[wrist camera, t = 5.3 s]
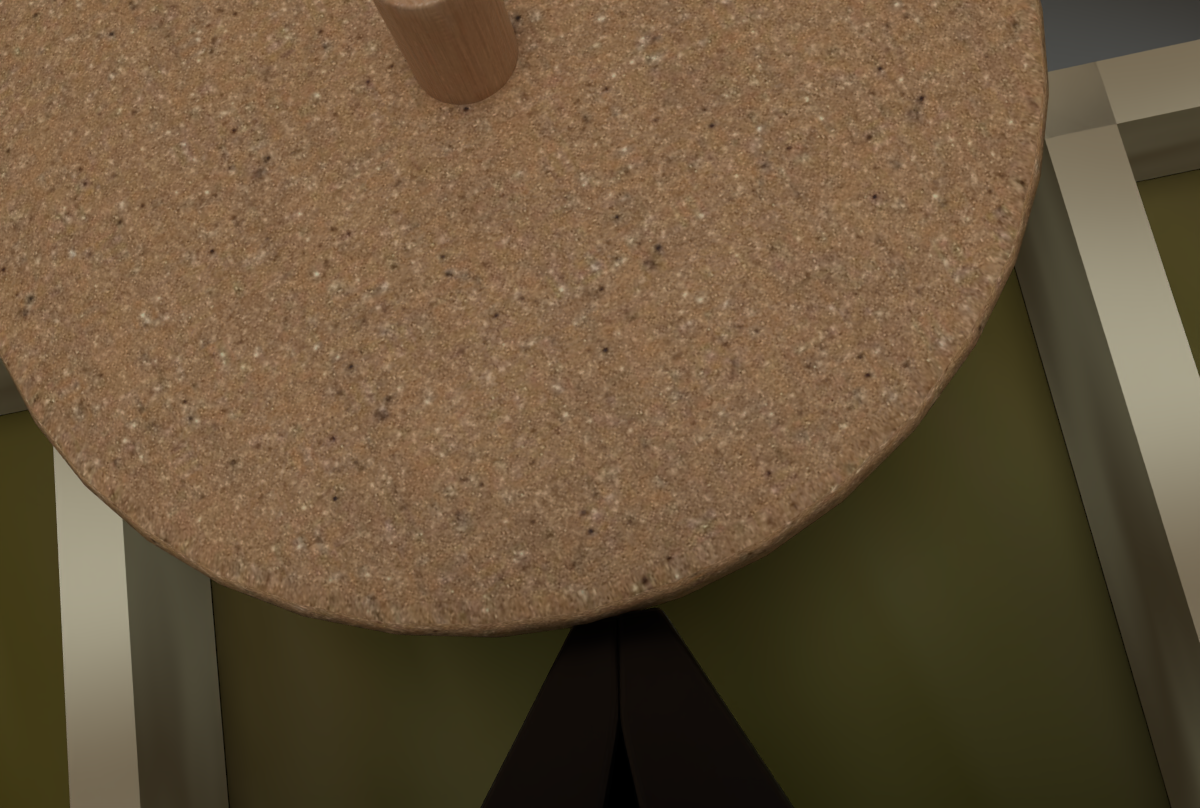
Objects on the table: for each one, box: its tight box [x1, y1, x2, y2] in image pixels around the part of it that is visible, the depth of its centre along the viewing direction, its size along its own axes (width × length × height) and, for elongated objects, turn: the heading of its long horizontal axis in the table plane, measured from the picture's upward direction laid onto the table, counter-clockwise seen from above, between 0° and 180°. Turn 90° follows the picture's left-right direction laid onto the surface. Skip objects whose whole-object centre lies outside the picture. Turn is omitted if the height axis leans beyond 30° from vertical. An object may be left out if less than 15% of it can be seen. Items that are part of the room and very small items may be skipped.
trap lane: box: [0, 0, 1200, 808], centre depth 15 cm, size 28×25×4 cm
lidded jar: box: [0, 0, 1049, 637], centre depth 13 cm, size 11×11×9 cm
